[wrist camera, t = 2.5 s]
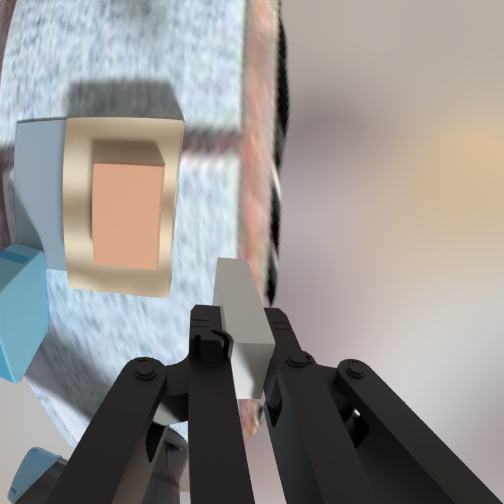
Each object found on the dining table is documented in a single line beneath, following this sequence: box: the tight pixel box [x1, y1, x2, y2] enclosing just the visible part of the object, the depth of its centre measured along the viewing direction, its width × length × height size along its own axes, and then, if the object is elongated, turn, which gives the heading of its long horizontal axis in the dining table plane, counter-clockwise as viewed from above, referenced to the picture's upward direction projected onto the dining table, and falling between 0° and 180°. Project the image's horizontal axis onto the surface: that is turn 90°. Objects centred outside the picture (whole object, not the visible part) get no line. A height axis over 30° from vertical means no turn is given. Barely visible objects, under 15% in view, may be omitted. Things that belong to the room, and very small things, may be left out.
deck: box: [63, 117, 186, 298], centre depth 27 cm, size 17×11×4 cm, turn 171°
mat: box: [14, 120, 67, 271], centre depth 27 cm, size 17×9×1 cm, turn 171°
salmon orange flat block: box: [92, 161, 166, 270], centre depth 24 cm, size 9×6×2 cm, turn 171°
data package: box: [0, 243, 50, 384], centre depth 25 cm, size 12×4×12 cm, turn 164°
